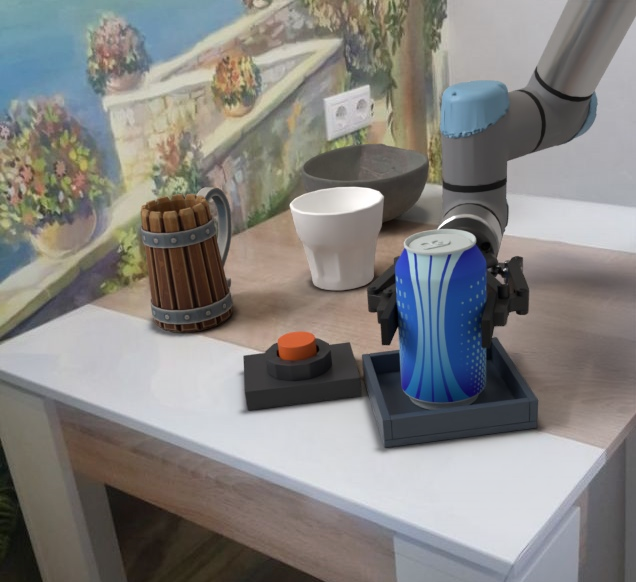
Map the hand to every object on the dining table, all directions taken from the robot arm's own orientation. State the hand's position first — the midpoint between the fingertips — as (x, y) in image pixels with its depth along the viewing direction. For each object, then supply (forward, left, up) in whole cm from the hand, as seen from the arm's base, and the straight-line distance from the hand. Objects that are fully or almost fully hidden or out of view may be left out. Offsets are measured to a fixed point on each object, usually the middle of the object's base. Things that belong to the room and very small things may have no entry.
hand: (434, 333), depth 80 cm
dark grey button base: (+12, -12, -10) cm, 20 cm away
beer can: (-2, -4, -9) cm, 10 cm away
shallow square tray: (-2, -4, -10) cm, 11 cm away
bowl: (-3, -67, -10) cm, 68 cm away
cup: (+4, -42, -10) cm, 44 cm away
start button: (+12, -12, -6) cm, 18 cm away
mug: (+23, -37, -10) cm, 45 cm away
